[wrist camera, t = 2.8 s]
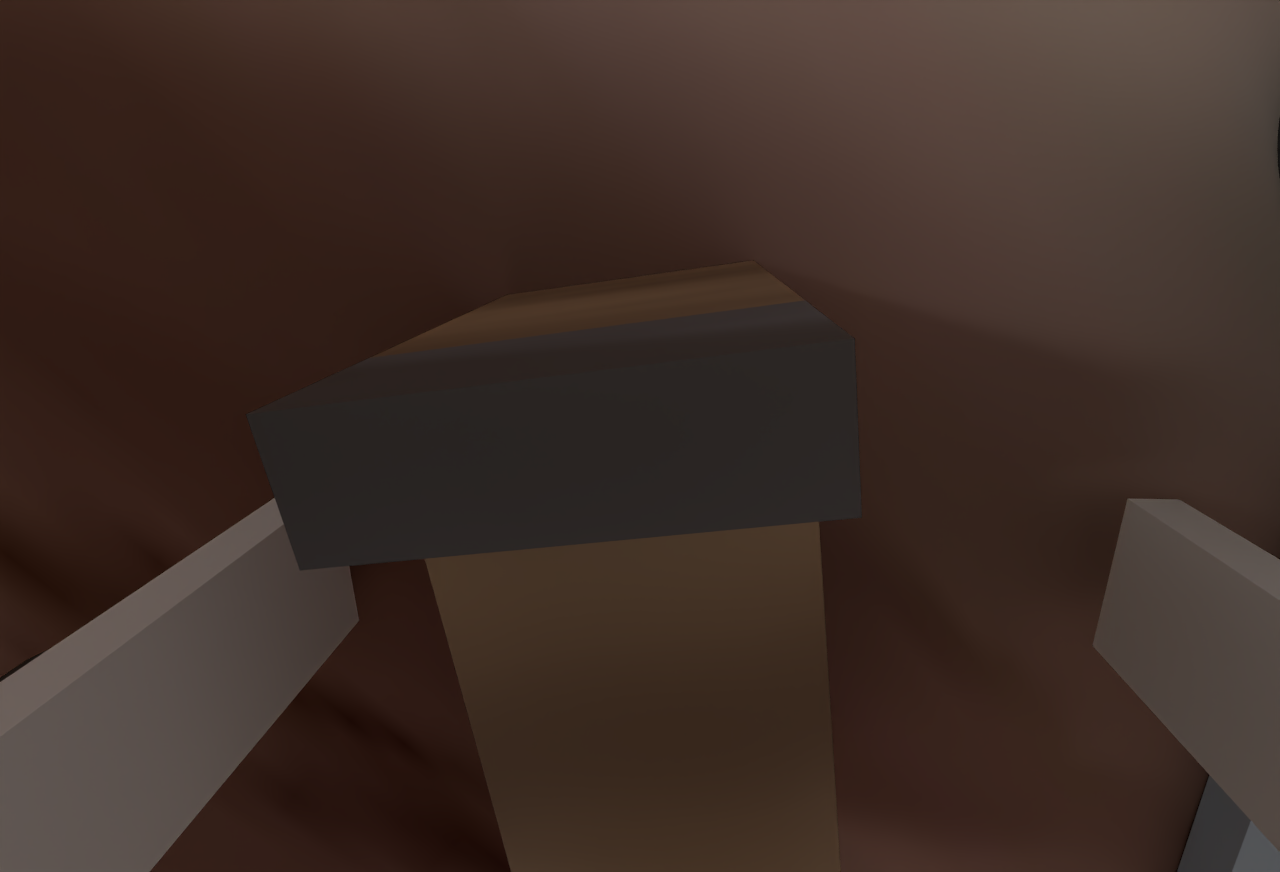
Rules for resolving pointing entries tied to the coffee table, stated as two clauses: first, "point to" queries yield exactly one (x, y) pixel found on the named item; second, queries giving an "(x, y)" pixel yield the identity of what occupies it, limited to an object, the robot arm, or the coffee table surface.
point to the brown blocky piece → (610, 553)
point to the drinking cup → (1279, 147)
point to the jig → (1226, 838)
